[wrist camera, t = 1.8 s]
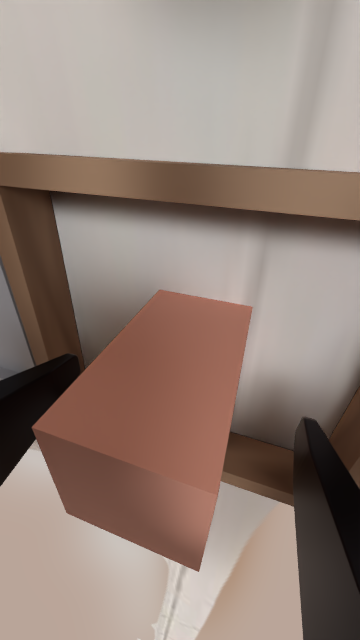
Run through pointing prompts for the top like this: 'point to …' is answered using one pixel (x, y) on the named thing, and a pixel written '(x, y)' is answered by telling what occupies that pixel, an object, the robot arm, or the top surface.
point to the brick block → (151, 425)
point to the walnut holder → (169, 186)
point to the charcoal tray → (12, 333)
